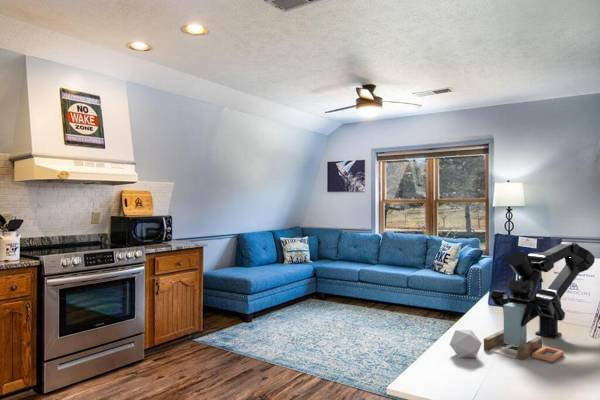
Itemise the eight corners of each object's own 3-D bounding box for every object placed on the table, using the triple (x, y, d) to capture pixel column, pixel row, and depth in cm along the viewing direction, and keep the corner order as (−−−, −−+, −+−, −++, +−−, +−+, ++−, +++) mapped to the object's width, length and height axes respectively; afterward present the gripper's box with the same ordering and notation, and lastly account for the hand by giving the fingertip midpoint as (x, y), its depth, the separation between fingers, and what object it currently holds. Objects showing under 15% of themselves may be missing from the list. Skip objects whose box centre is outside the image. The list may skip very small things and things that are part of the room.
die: (477, 365, 126) (489, 336, 129) (450, 350, 127) (463, 321, 130) (467, 365, 134) (478, 337, 137) (442, 350, 135) (454, 323, 138)
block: (510, 339, 142) (510, 302, 142) (526, 343, 138) (526, 305, 138) (503, 343, 139) (503, 304, 138) (519, 347, 135) (519, 308, 135)
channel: (504, 339, 146) (504, 329, 146) (542, 348, 137) (542, 337, 137) (483, 349, 137) (483, 338, 137) (522, 360, 128) (522, 348, 128)
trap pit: (544, 350, 135) (544, 346, 135) (563, 355, 131) (563, 350, 131) (532, 358, 130) (532, 353, 130) (552, 363, 125) (552, 358, 125)
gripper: (492, 266, 148) (476, 303, 141) (550, 274, 133) (536, 316, 126) (503, 286, 153) (488, 322, 146) (560, 295, 138) (547, 336, 131)
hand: (513, 323), depth 137 cm, fingers closed on block, 5 cm apart
